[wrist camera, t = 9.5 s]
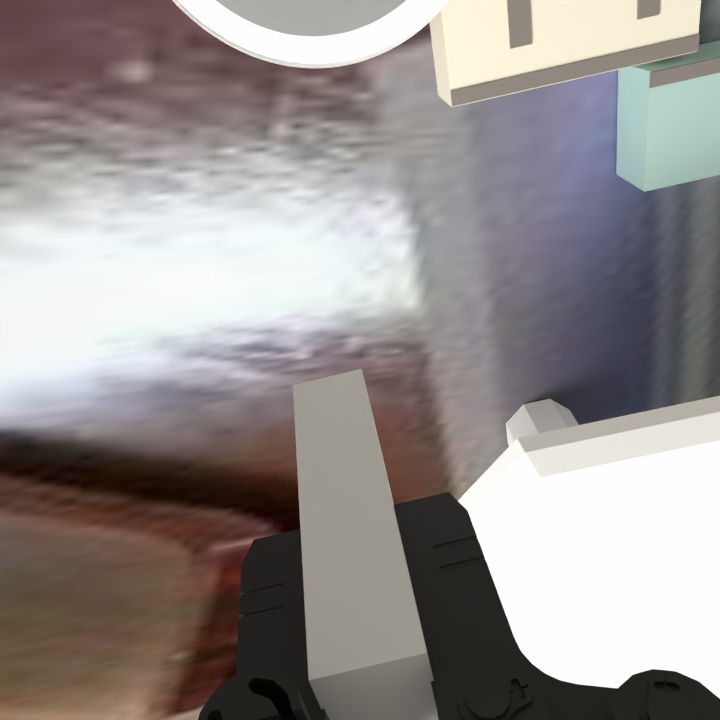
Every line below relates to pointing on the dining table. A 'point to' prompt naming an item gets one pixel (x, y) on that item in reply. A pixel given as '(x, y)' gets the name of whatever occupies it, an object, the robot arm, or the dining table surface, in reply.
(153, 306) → the dining table surface
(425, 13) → the jar
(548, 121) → the dining table surface
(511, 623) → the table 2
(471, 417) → the dining table surface
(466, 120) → the dining table surface
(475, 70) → the cream slotted block
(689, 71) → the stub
